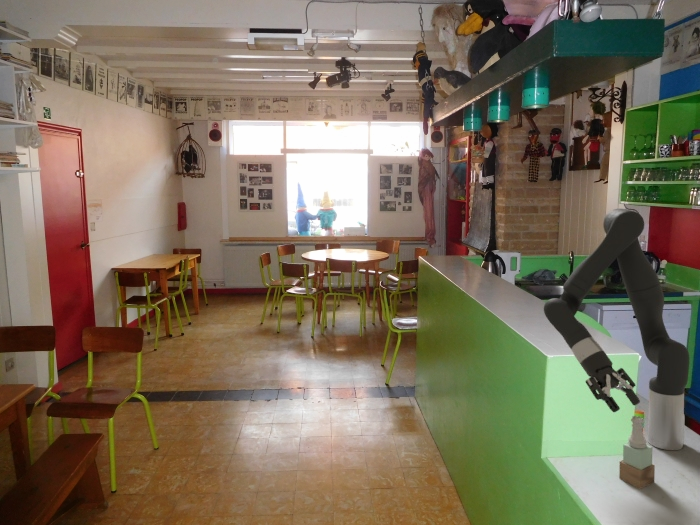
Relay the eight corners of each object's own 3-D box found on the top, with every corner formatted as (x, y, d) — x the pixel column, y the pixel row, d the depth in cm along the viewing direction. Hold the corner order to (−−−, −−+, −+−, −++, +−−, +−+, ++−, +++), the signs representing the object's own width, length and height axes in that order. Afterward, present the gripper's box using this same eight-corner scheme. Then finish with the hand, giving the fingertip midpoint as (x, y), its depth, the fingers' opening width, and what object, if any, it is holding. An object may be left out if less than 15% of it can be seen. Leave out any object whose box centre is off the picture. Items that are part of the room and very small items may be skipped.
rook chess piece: (649, 449, 138) (649, 421, 138) (631, 449, 139) (631, 420, 138) (643, 442, 143) (643, 414, 142) (625, 441, 144) (626, 413, 143)
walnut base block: (633, 472, 146) (634, 455, 146) (654, 482, 141) (654, 465, 140) (619, 478, 144) (619, 461, 143) (639, 488, 138) (640, 471, 138)
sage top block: (634, 456, 145) (634, 439, 144) (652, 464, 141) (652, 446, 140) (623, 462, 143) (623, 444, 142) (640, 469, 138) (641, 452, 138)
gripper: (582, 354, 146) (619, 407, 137) (615, 345, 152) (653, 395, 143) (566, 367, 151) (601, 419, 142) (599, 358, 157) (634, 407, 149)
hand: (627, 407), depth 143 cm, fingers open, 8 cm apart
